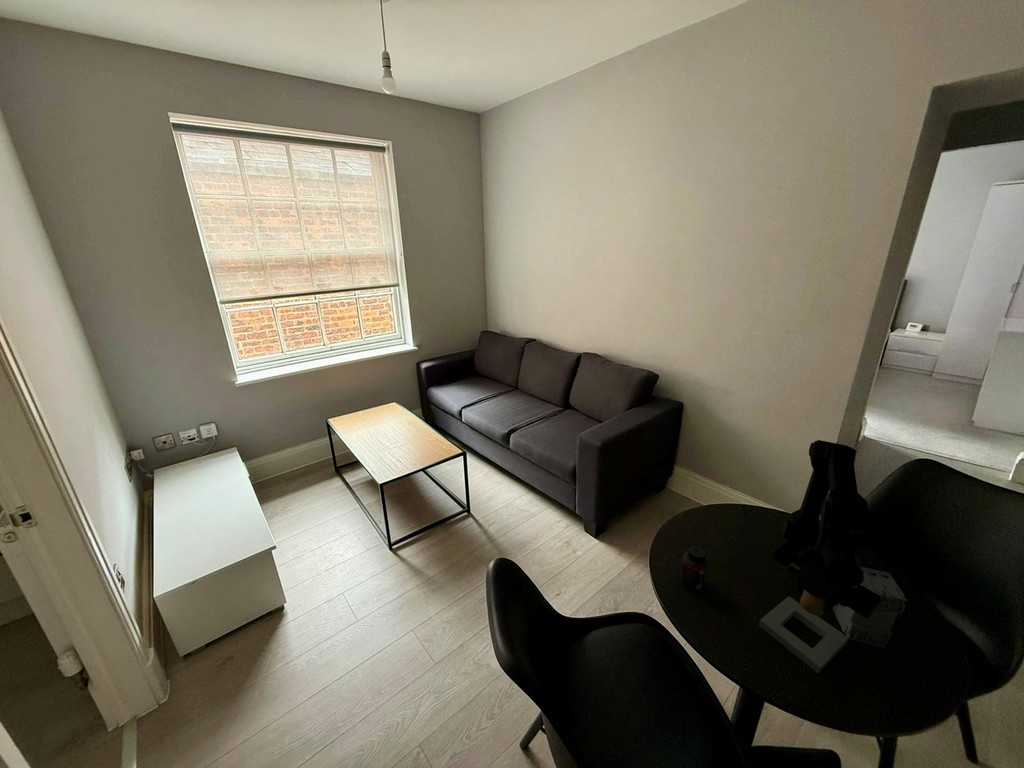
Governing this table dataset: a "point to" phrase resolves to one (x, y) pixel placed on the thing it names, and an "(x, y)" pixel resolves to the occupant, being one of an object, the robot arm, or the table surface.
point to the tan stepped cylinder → (813, 603)
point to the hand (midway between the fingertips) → (812, 603)
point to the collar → (812, 657)
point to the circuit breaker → (883, 615)
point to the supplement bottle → (693, 569)
